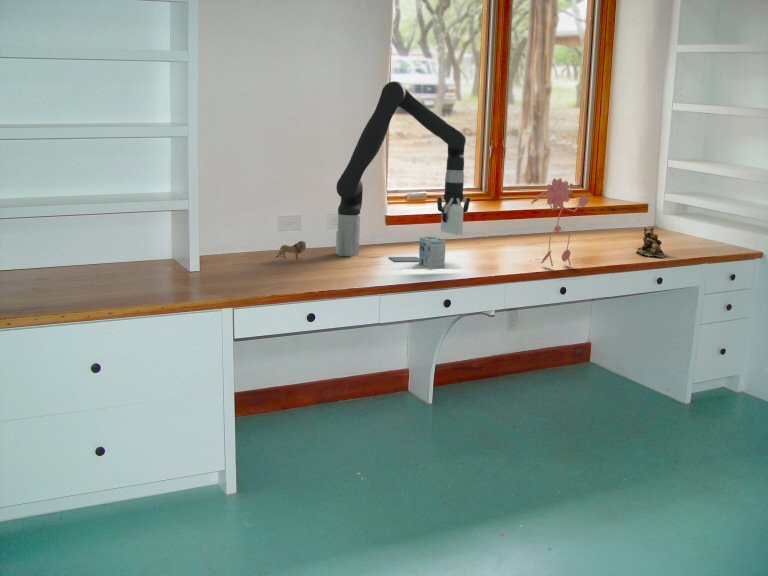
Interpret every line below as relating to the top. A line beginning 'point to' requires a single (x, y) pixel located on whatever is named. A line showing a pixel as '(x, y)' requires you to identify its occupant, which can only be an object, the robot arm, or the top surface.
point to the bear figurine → (651, 244)
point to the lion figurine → (292, 249)
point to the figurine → (557, 197)
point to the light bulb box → (432, 252)
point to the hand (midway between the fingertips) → (452, 222)
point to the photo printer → (453, 220)
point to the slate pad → (404, 259)
